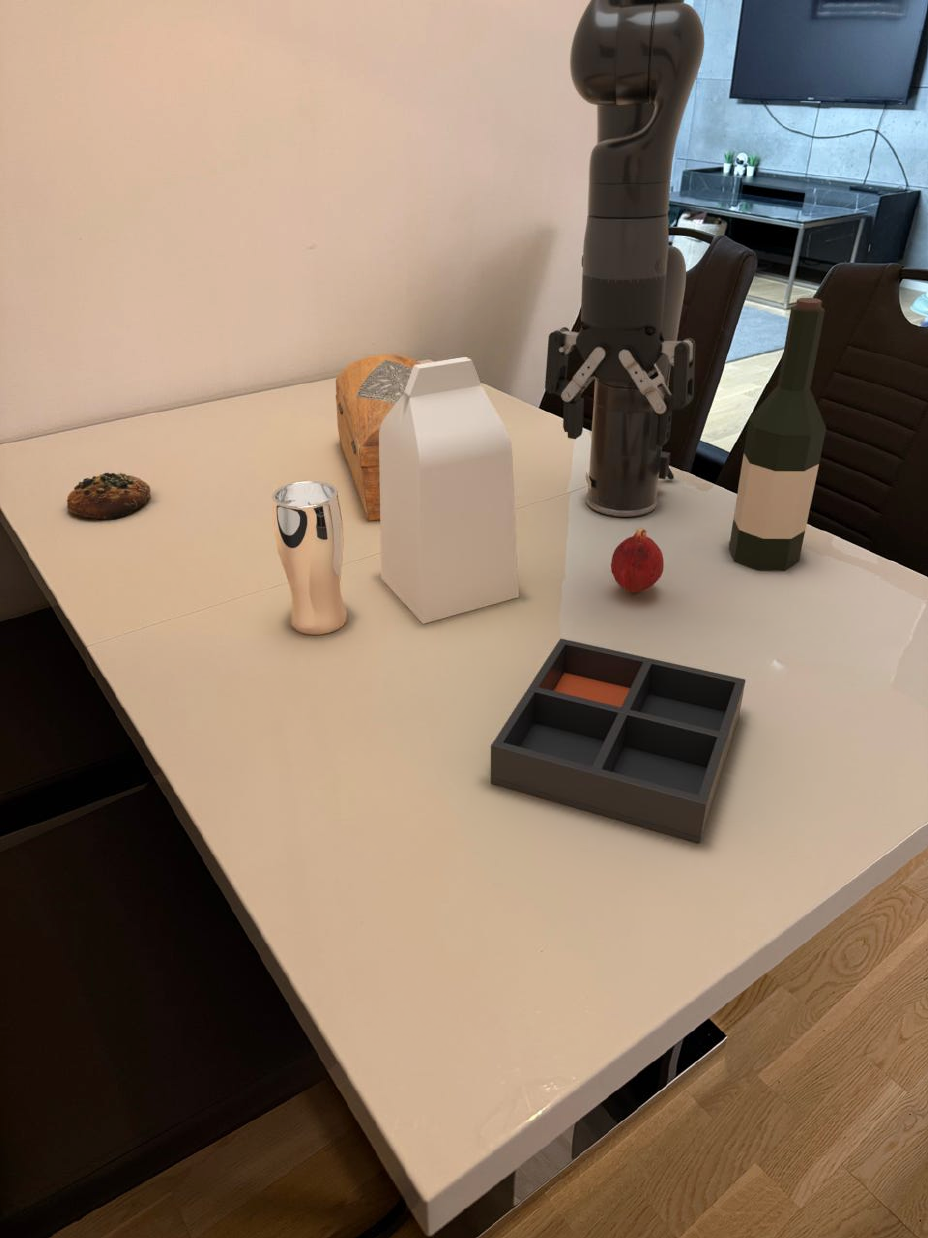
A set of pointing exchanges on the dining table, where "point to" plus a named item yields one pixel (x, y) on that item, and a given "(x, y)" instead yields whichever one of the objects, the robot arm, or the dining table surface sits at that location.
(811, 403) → the wine bottle
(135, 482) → the bread roll
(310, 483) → the beer glass
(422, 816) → the dining table surface
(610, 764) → the compartment tray
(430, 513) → the milk
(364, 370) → the wooden box
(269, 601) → the dining table surface
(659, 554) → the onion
